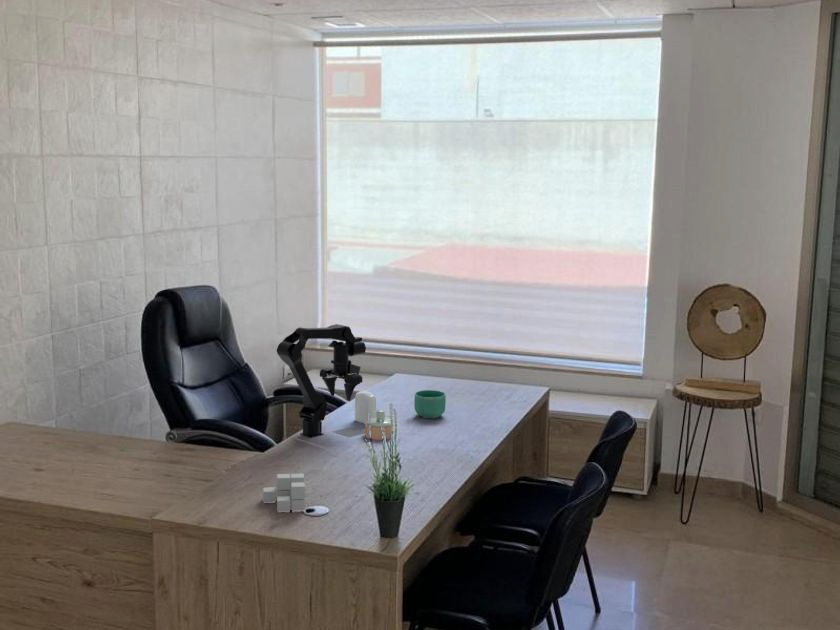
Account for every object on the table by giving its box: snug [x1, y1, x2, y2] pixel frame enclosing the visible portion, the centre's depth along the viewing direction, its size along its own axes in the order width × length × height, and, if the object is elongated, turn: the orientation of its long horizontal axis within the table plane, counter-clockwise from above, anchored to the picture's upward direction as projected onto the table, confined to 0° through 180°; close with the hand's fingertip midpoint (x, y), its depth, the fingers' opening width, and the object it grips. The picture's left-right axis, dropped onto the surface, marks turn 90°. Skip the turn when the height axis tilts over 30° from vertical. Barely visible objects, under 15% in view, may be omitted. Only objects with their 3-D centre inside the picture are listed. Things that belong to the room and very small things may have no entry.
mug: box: [413, 389, 447, 420], centre depth 385 cm, size 17×13×10 cm
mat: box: [331, 426, 365, 438], centre depth 358 cm, size 10×10×1 cm
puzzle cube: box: [262, 473, 306, 512], centre depth 279 cm, size 12×12×8 cm
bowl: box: [364, 422, 397, 441], centre depth 353 cm, size 11×11×5 cm
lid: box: [367, 409, 391, 427], centre depth 353 cm, size 10×10×5 cm
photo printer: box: [354, 390, 377, 425], centre depth 371 cm, size 10×4×12 cm, turn 39°
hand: (340, 398), depth 361 cm, fingers open, 9 cm apart
